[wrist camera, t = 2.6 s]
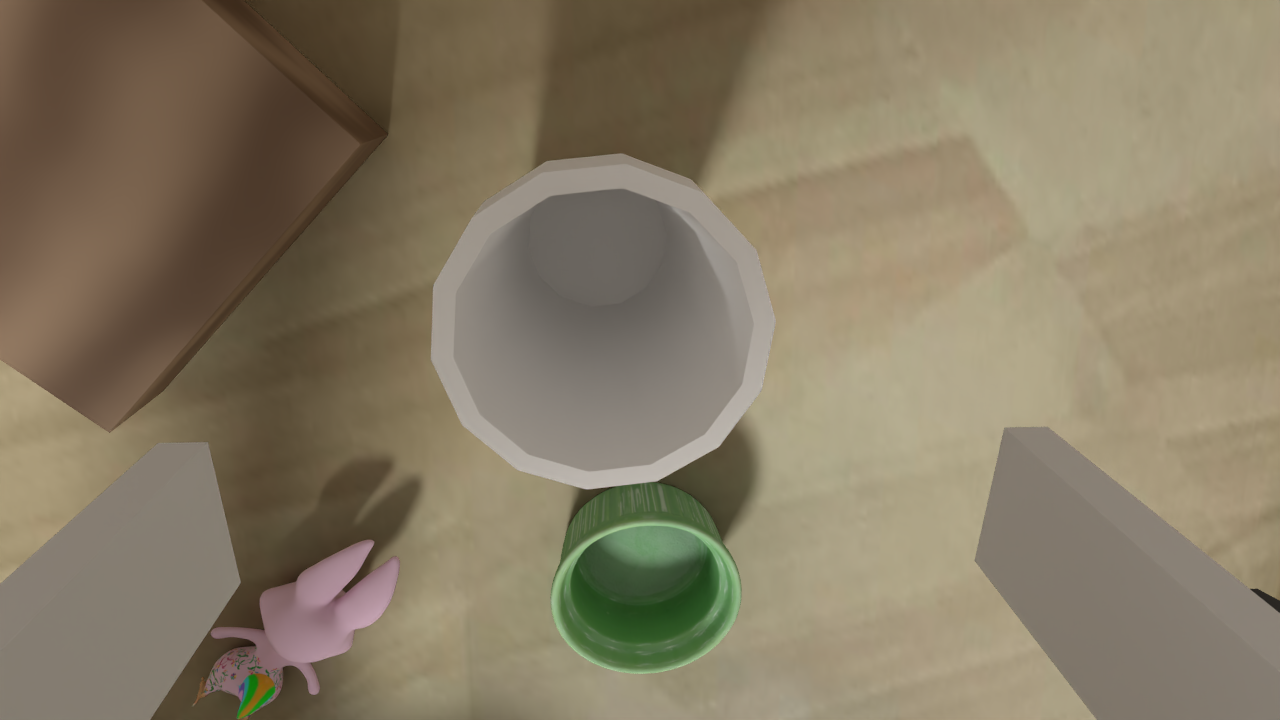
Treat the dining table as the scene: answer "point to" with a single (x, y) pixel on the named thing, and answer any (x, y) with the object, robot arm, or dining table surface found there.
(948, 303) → the dining table surface
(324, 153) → the walnut base
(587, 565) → the ramekin
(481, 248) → the foam cup
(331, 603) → the rabbit figure
